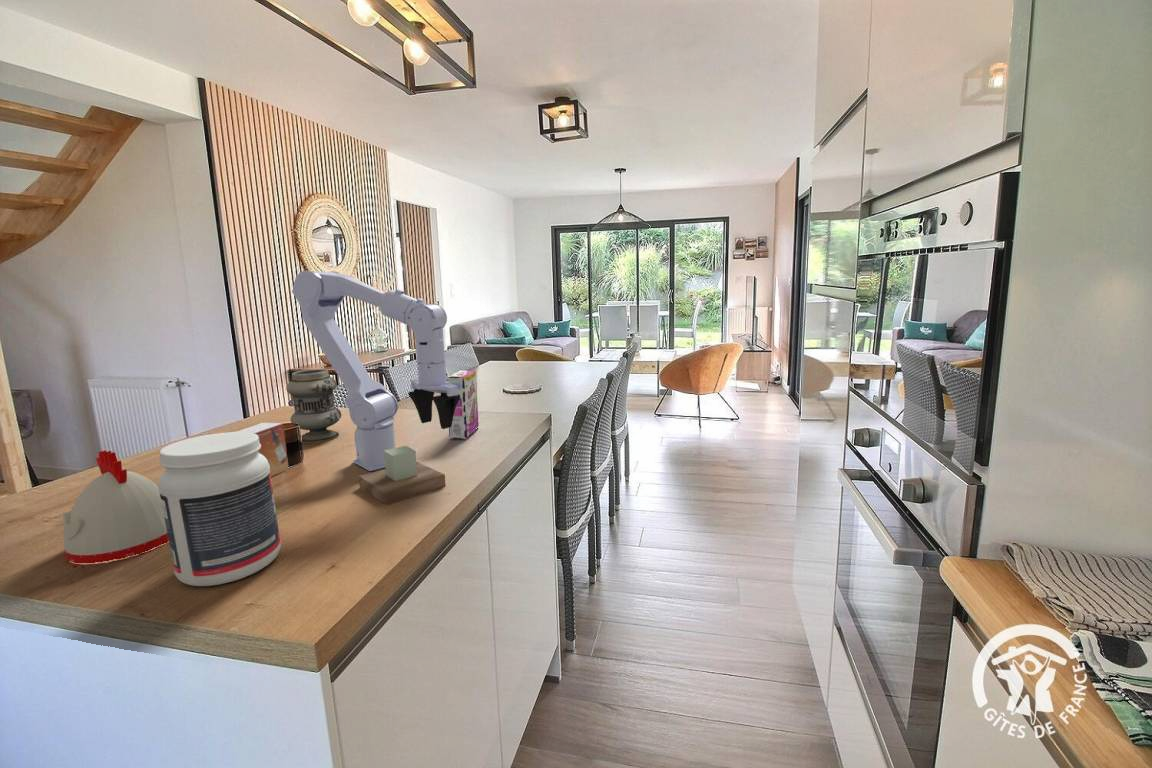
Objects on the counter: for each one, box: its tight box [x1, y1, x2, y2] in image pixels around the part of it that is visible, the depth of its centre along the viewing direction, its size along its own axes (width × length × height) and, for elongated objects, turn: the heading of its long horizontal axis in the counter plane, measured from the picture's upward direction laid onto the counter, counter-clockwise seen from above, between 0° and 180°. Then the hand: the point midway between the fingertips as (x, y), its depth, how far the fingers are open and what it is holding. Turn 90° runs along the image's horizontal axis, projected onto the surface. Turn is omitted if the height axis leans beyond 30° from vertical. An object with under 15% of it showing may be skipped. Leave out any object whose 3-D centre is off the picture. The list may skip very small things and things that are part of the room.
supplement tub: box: [157, 431, 282, 587], centre depth 73 cm, size 13×13×18 cm
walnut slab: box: [358, 461, 446, 506], centre depth 103 cm, size 12×12×3 cm
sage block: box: [384, 445, 418, 481], centre depth 103 cm, size 4×4×5 cm
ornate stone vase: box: [286, 368, 342, 444], centre depth 138 cm, size 12×12×18 cm
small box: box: [235, 422, 289, 478], centre depth 111 cm, size 8×6×10 cm
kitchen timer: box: [62, 449, 169, 563], centre depth 82 cm, size 14×14×15 cm
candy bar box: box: [446, 369, 479, 440], centre depth 138 cm, size 11×5×16 cm, turn 174°
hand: (436, 424), depth 113 cm, fingers open, 7 cm apart
